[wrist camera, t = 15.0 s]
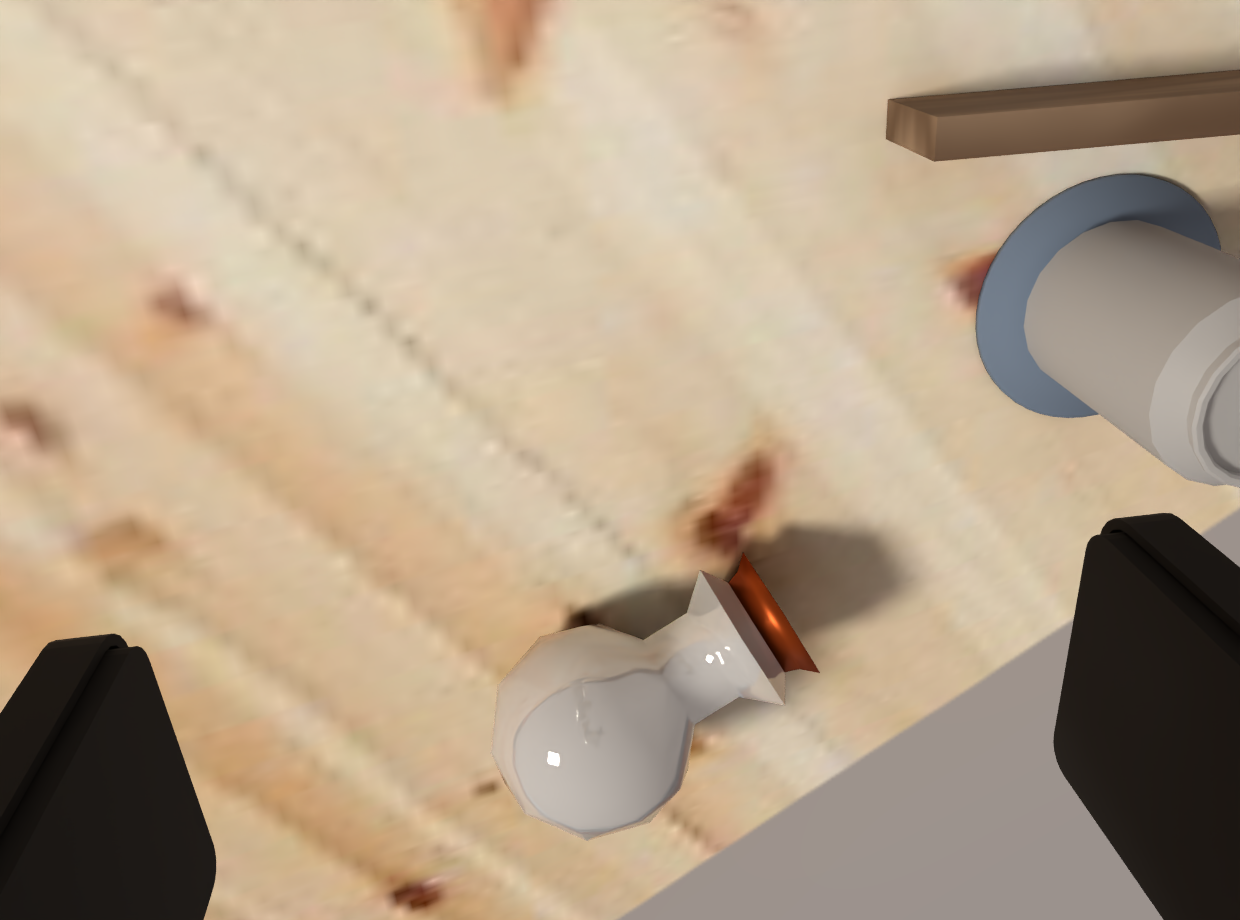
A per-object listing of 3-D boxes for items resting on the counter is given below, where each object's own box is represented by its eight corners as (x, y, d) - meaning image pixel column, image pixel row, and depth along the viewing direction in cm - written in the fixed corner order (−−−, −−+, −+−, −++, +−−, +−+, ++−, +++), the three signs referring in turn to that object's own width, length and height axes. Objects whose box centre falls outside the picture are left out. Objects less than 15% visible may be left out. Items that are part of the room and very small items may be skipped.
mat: (989, 186, 41) (992, 187, 41) (1241, 163, 42) (1246, 164, 42) (964, 426, 46) (967, 429, 46) (1191, 402, 47) (1195, 405, 47)
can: (1206, 223, 43) (1439, 310, 32) (1146, 385, 46) (1340, 513, 35) (1043, 207, 42) (1229, 291, 31) (994, 374, 45) (1146, 503, 34)
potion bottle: (478, 682, 52) (724, 527, 51) (575, 852, 50) (830, 694, 50) (422, 701, 43) (721, 513, 42) (538, 911, 41) (851, 717, 40)
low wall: (888, 99, 39) (937, 117, 35) (1367, 59, 41) (1473, 71, 36) (885, 138, 40) (934, 161, 36) (1357, 97, 41) (1460, 114, 37)
